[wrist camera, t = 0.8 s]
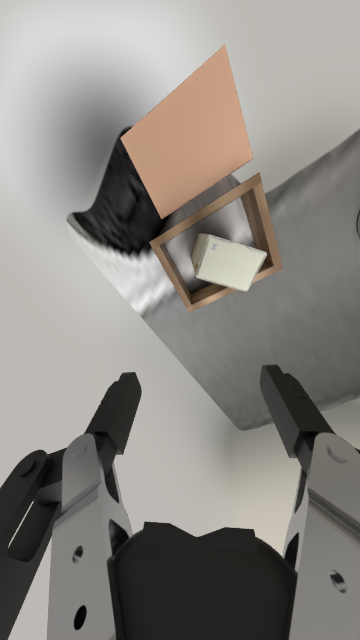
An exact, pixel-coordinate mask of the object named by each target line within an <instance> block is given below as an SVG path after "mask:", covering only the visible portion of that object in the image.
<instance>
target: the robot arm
mask: <svg viewBox="0 0 360 640" xmlns="http://www.w3.org/2000/svg"><path fill="white" fill-rule="evenodd" d="M357 228H358V233H359V235H360V214H359V218H358V225H357ZM260 388H261V392H262V394H263V397H264V399H265V402H266V404H267V406H268V409H269V411H270V413H271V416H272V418H273V420H274V423H275V425H276V428H277V430H278V432H279V435H280V437H281V439H282V442H283V444H284V446H285V449H286V451H287V453H288V456H289V458H298V460H299V462H300V465H301V471H300V476H299V481H298V486H297V492H296V497H295V502H294V507H293V513H292V517H291V520H290V523H289V527H288V531H287V535H286V540H285V545H284V550H283V555H282V556H281V555H280V554H279V553H278V552H277V551H276V550H275V549H273V548H272V547H271V546H270V545H268V544H267V543H266V542H264V541H263V540H261V539H259V538H257V537H255V532H254V530H253V529H241V528H228V527H227V528H226V527H225V528H222V529H219V530H216V531H214V532H211V533H208V534H206V535H203V536H200V537H195V536H193V535H191V534H189V533H187V532H185V531H183V530H181V529H179V528H177V527H176V526H174V525H172V524H170V523H157V522H144V528H143V530H140V531H139V532H137V533H135V534H134V535H133V533H132V529H131V525H130V521H129V518H128V515H127V513H126V510H125V508H124V506H123V502H122V498H121V493H120V489H119V484H118V480H117V475H116V471H115V467H114V463H113V461H114V458H115V455H123V453H124V449H125V447H126V443H127V440H128V437H129V433H130V430H131V427H132V424H133V421H134V417H135V414H136V411H137V407H138V404H139V401H140V398H141V386H140V383H139V381H138V378H137V376H136V373H135V372H127V373H122V374H121V376H120V378H119V380H118V381H115V382H114V383H113V384H112V385H111V386H110V387H109V388H108V390H107V392H106V394H105V396H104V398H103V399H102V401H101V404H100V405H99V407H98V409H97V411H96V413H95V415H94V417H93V418H92V420H91V422H90V424H89V426H88V428H87V430H86V432H85V433H84V434H83V435H81V436H79V437H77V438H76V439H75V440H74V441H73V442H72V443H71V444H70V445H69V446H68V447H67V448H65V449H62V450H59V451H56V452H54V453H51V454H47V453H46V452H45V451H43V450H37V451H34V452H32V453H30V454H29V455H27V456H26V457H25V458H24V459H22V460H21V461H20V462H19V463H18V464H17V466H16V467H15V468H14V470H13V471H12V472H11V474H10V475H9V477H8V478H7V480H6V481H5V482H4V484H3V485H2V487H1V488H0V640H8V637H9V635H10V633H11V630H12V628H13V626H14V623H15V621H16V619H17V616H18V614H19V612H20V609H21V607H22V605H23V602H24V600H25V597H26V595H27V593H28V590H29V588H30V586H31V583H32V581H33V579H34V576H35V574H36V572H37V569H38V567H39V565H40V562H41V560H42V558H43V555H44V553H45V551H46V548H47V546H48V543H49V541H50V539H51V536H52V548H51V567H50V586H49V607H48V627H47V640H360V450H358V449H356V448H354V447H353V446H352V445H351V444H350V443H349V442H347V441H346V440H344V439H343V438H341V437H339V436H337V435H336V434H335V433H334V432H333V430H332V429H331V427H330V426H329V425H328V423H327V422H326V420H325V419H324V417H323V416H322V415H321V413H320V412H319V410H318V409H317V407H316V406H315V404H314V403H313V402H312V400H311V399H310V398H309V396H308V394H307V393H306V392H305V391H304V389H303V387H302V386H301V384H300V383H299V382H298V380H296V379H295V378H294V377H293V376H291V375H290V374H289V373H286V374H283V372H282V371H281V369H280V368H279V366H278V365H263V366H262V370H261V378H260ZM32 501H33V502H34V503H33V504H32V506H31V508H30V510H29V512H28V513H27V515H26V517H25V519H24V521H23V522H22V525H21V526H20V528H19V530H18V532H17V533H16V535H15V537H14V539H13V541H12V543H11V545H10V546H9V543H10V541H11V539H12V537H13V535H14V534H15V532H16V530H17V528H18V526H19V525H20V523H21V521H22V519H23V517H24V515H25V514H26V512H27V510H28V508H29V506H30V505H31V503H32ZM8 546H9V548H8ZM7 549H8V550H7Z"/></svg>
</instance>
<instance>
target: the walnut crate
mask: <svg viewBox="0 0 360 640" xmlns="http://www.w3.org/2000/svg"><path fill="white" fill-rule="evenodd" d="M240 196H241V198H242V202H243V205H244V208H245V212H246V215H247V218H248V222H249V225H250V229H251V232H252V235H253V239H254V242H255V245H256V249H258V250H261V251H264V252H266V253H267V255H266V257H265V259H264V261H263V263H262V265H261V267H260V269H259V271H258V273H257V275H256V277H255V278H254V280H253V282H256V281H258V280H260V279H262V278H264V277H266V276H269V275H271V274H273V273H275V272H277V271H279V270H281V269H283V268H282V264H281V260H280V256H279V251H278V247H277V243H276V239H275V235H274V231H273V227H272V223H271V218H270V214H269V210H268V206H267V202H266V198H265V194H264V190H263V185H262V181H261V178H260V173H257V174H256V175H254V176H253V177H251V178H250V179H248V180H246V181H245V182H243V183H242V184H240V185H239V186H237V187H235V188H234V189H232V190H231V191H229V192H228V193H226V194H224V195H223V196H221V197H220V198H218V199H217V200H215V201H214V202H212V203H210V204H209V205H207V206H206V207H204V208H203V209H201V210H199V211H198V212H196V213H195V214H193V215H192V216H190V217H188V218H187V219H185V220H184V221H182V222H181V223H179V224H177V225H176V226H174V227H173V228H171V229H170V230H168V231H166V232H165V233H163V234H162V235H160V236H159V237H157V238H156V239H154V240H152V241H151V242H149V243H150V245H151V247H152V248H153V250H154V252H155V254H156V255H157V257H158V259H159V261H160V262H161V264H162V266H163V268H164V269H165V271H166V273H167V275H168V276H169V278H170V280H171V282H172V283H173V285H174V287H175V289H176V290H177V292H178V294H179V296H180V297H181V299H182V301H183V303H184V304H185V306H186V308H187V310H188V311H189V312H191V311H193V310H195V309H197V308H200V307H202V306H204V305H206V304H208V303H210V302H213V301H215V300H217V299H219V298H221V297H223V296H225V295H228V294H230V293H232V292H234V291H236V290H238V289H234V288H230V287H226V286H222V285H219V284H215V283H213V284H211V285H209V286H207V287H205V288H203V289H201V290H199V291H197V292H195V293H193V294H191V293H190V291H189V290H188V288H187V286H186V284H185V282H184V280H183V278H182V276H181V275H180V273H179V271H178V269H177V267H176V265H175V263H174V261H173V260H172V258H171V256H170V254H169V252H168V250H167V248H166V246H165V245H164V243H165V242H167V241H169V240H170V239H172V238H173V237H175V236H177V235H178V234H180V233H181V232H183V231H185V230H186V229H188V228H190V227H191V226H193V225H194V224H196V223H198V222H199V221H201V220H202V219H204V218H206V217H207V216H209V215H211V214H212V213H214V212H215V211H217V210H219V209H220V208H222V207H224V206H225V205H227V204H228V203H230V202H232V201H233V200H235V199H236V198H238V197H240ZM253 282H252V283H253Z"/></svg>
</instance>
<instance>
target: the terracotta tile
mask: <svg viewBox="0 0 360 640" xmlns="http://www.w3.org/2000/svg"><path fill="white" fill-rule="evenodd" d="M121 140H122V142H123V144H124V146H125V148H126V150H127V152H128V154H129V156H130V158H131V160H132V162H133V164H134V166H135V168H136V170H137V172H138V174H139V176H140V178H141V180H142V182H143V184H144V186H145V188H146V190H147V192H148V193H149V195H150V197H151V199H152V201H153V203H154V205H155V207H156V209H157V211H158V213H159V215H160V217H161V219H164V218H165V217H167V216H168V215H170V214H171V213H173V212H174V211H176V210H177V209H179V208H180V207H182V206H183V205H185V204H186V203H188V202H189V201H191V200H192V199H194V198H195V197H197V196H198V195H200V194H201V193H203V192H204V191H206V190H207V189H209V188H210V187H212V186H213V185H215V184H216V183H218V182H219V181H221V180H222V179H224V178H225V177H227V176H228V175H230V174H231V173H233V172H234V171H235V170H237V169H238V168H240V167H242V166H243V165H245V164H246V163H248V162H249V161H251V160H252V159H253V155H252V152H251V147H250V143H249V140H248V135H247V132H246V127H245V123H244V119H243V115H242V111H241V107H240V104H239V99H238V95H237V91H236V87H235V83H234V79H233V75H232V71H231V67H230V63H229V59H228V55H227V51H226V47H225V45H224V46H223V47H222V48H221V49H220V50H218V51H217V52H216V53H215V54H214V55H213V56H212V57H211V58H209V59H208V60H207V61H206V62H205V63H204V64H203V65H202V66H201V67H199V68H198V69H197V70H196V71H195V72H194V73H193V74H192V75H191V76H189V77H188V78H187V79H186V80H185V81H184V82H183V83H182V84H180V85H179V86H178V87H177V88H176V89H175V90H174V91H173V92H171V93H170V94H169V95H168V96H167V97H166V98H165V99H164V100H162V102H160V103H159V104H158V105H157V106H156V107H155V108H154V109H152V110H151V111H150V112H149V113H148V114H147V115H146V116H145V117H144V118H142V119H141V120H140V121H139V122H138V123H137V124H136V125H134V126H133V127H132V128H131V129H130V130H129V131H128V132H127V133H126V134H124V135H123V136H122V137H121Z"/></svg>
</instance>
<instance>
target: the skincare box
mask: <svg viewBox="0 0 360 640" xmlns="http://www.w3.org/2000/svg"><path fill="white" fill-rule="evenodd" d="M266 255H267V253H266V252H264V251H261V250H258V249H255V248H252V247H249V246H246V245H242V244H239V243H236V242H233V241H230V240H226V239H223V238H220V237H216V236H213V235H209V234H203V233H198V236H197V239H196V242H195V245H194V249H193V252H192V256H191V261H192V264H193V268H194V271H195V275H196V277H197V278H199V279H202V280H205V281H208V282H211V283H215V284H219V285H222V286H226V287H230V288H234V289H238V290H242V291H248V289H249V287H250V285H251V284H252V282H253V280H254V278H255V277H256V275H257V273H258V271H259V269H260V267H261V265H262V263H263V261H264V259H265V257H266Z"/></svg>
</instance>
